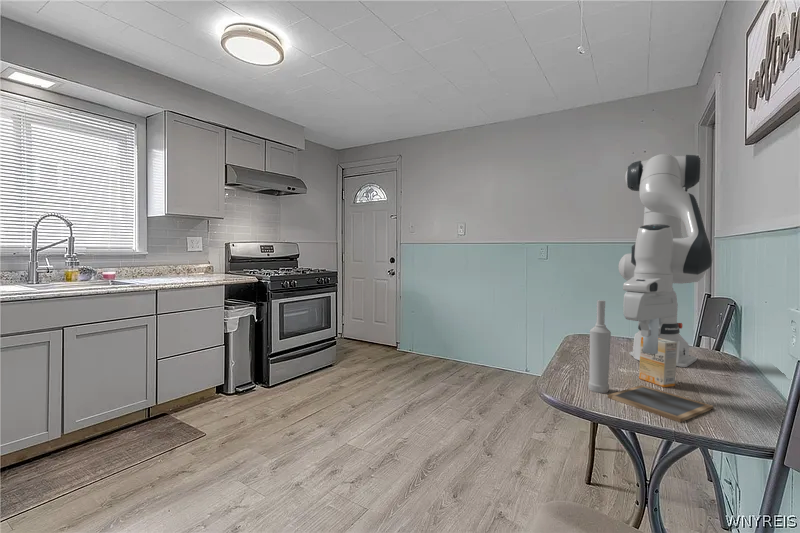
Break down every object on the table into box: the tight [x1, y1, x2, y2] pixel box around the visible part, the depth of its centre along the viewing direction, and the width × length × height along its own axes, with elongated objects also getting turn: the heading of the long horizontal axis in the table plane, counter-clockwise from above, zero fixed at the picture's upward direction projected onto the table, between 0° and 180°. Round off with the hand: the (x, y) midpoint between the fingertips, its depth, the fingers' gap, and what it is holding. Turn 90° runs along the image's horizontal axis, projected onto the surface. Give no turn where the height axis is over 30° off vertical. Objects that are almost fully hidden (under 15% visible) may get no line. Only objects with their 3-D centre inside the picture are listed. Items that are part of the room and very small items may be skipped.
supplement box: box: [638, 337, 677, 388], centre depth 115 cm, size 8×5×13 cm, turn 18°
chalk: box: [643, 318, 659, 354], centre depth 105 cm, size 3×3×12 cm
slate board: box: [607, 384, 714, 423], centre depth 99 cm, size 16×17×1 cm
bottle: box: [587, 299, 612, 394], centre depth 107 cm, size 5×5×25 cm
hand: (650, 335), depth 105 cm, fingers closed on chalk, 3 cm apart
